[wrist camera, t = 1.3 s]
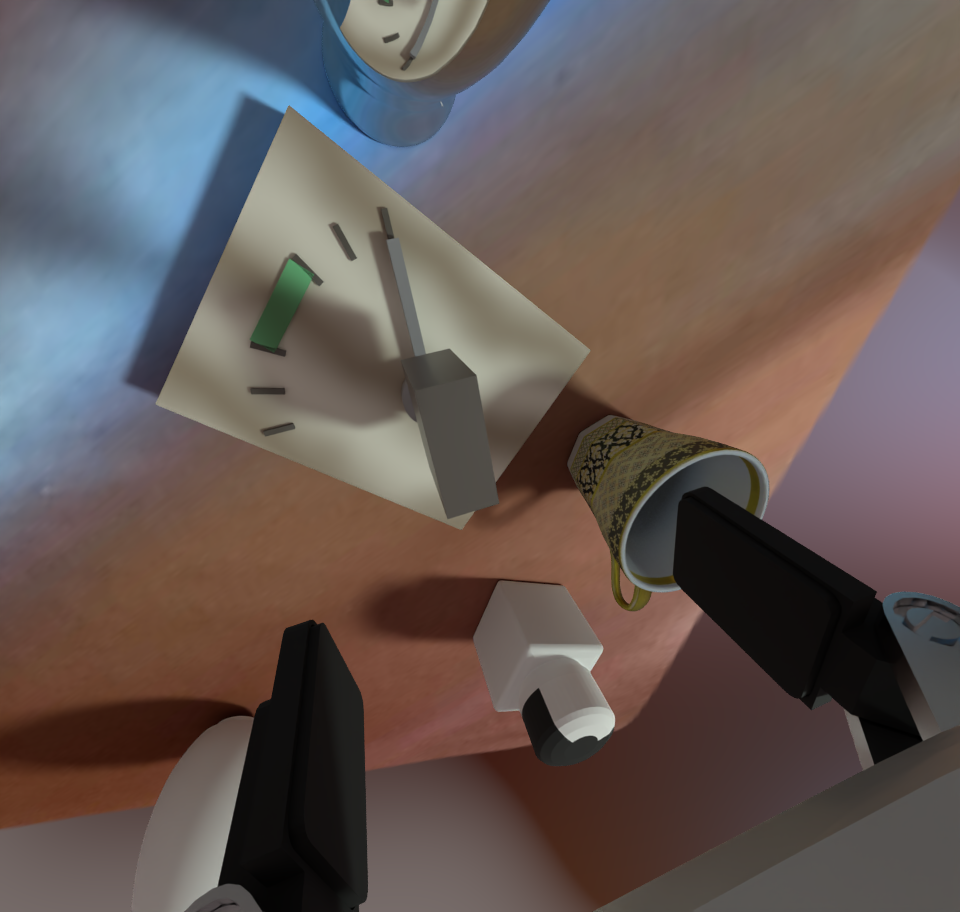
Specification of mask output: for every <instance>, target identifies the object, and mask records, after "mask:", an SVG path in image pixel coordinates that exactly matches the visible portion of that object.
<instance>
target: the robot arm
mask: <svg viewBox="0 0 960 912" xmlns="http://www.w3.org/2000/svg"><path fill="white" fill-rule="evenodd" d="M673 577H674V580H675V582H676V583H677V585H678V586H679V587H680V588H681V589H682V590H683V591H684V592H685V593H686V594H687V595H688V596H689V597H690V598H691V599H692V600H693V601H694V602H695V603H696V604H697V605H698V606H699V607H700V608H701V609H702V610H703V611H704V612H705V613H707V615H708V616H709V617H711V618H712V620H713V621H714V622H716V623H717V624H718V625H719V626H720V627H721V628H722V629H723V630H724V631H725V632H726V633H727V634H728V635H729V636H730V637H731V638H732V639H733V640H734V641H735V642H736V643H737V644H738V645H739V646H740V647H741V648H742V649H743V650H744V651H745V652H746V653H747V654H748V655H749V656H750V657H751V658H752V659H753V660H754V661H755V662H756V663H757V664H758V665H759V666H760V667H761V668H762V669H763V670H764V671H765V672H766V673H767V674H768V675H769V676H770V677H771V678H772V679H773V680H774V681H775V682H777V684H778V685H779V686H781V687H782V689H784V690H785V691H786V692H787V693H788V694H789V695H791V696H792V697H794V698H799V699H800V700H801V701H802V702H804V704H805V705H807V706H808V707H809V708H810V709H811V710H813V709H815V708H817V707H819V706H821V705H823V704H825V703H828V702H830V701H831V699H832V698H833V699H834V700H835V701H837V702H838V703H839V704H840V705H841V706H842V707H843V708H844V710H845V714H846V717H847V721H848V724H849V727H850V730H851V733H852V736H853V740H854V743H855V746H856V750H857V753H858V756H859V759H860V763H861V766H862V769H863V771H862V772H860V773H858V774H856V775H854V776H852V777H850V778H848V779H846V780H844V781H842V782H840V783H838V784H837V785H835V786H833V787H831V788H829V789H827V790H825V791H823V792H821V793H819V794H817V795H815V796H813V797H811V798H809V799H807V800H805V801H803V802H802V803H800V804H798V805H796V806H794V807H792V808H790V809H788V810H786V811H784V812H782V813H781V814H778V815H776V816H775V817H773V818H771V819H769V820H767V821H765V822H763V823H761V824H759V825H757V826H755V827H753V828H751V829H750V830H748V831H746V832H744V833H742V834H740V835H738V836H736V837H734V838H732V839H730V840H729V841H727V842H725V843H723V844H721V845H719V846H717V847H715V848H713V849H711V850H709V851H707V852H706V853H704V854H702V855H700V856H698V857H696V858H694V859H692V860H690V861H688V862H686V863H685V864H683V865H681V866H679V867H677V868H675V869H673V870H671V871H669V872H667V873H665V874H664V875H662V876H660V877H658V878H656V879H654V880H652V881H650V882H648V883H646V884H645V885H643V886H641V887H639V888H637V889H635V890H633V891H631V892H629V893H627V894H626V895H624V896H622V897H620V898H618V899H616V900H614V901H613V902H611V903H609V904H607V905H605V906H603V907H601V908H599V909H597V910H596V911H594V912H960V607H958V606H956V605H954V604H952V603H950V602H948V601H945V600H943V599H940V598H937V597H934V596H930V595H926V594H921V593H916V592H898V593H892V594H891V595H889V596H887V597H886V598H885V600H884V602H883V603H882V602H880V601H879V600H877V599H876V598H874V597H875V595H876V593H877V592H876V591H875V590H873V589H872V588H870V587H868V586H867V585H865V584H864V583H862V582H860V581H859V580H857V579H856V578H854V577H853V576H851V575H849V574H848V573H846V572H844V571H843V570H841V569H840V568H838V567H836V566H835V565H833V564H831V563H830V562H829V561H827V560H825V559H824V558H822V557H821V556H819V555H817V554H816V553H814V552H813V551H811V550H809V549H808V548H806V547H804V546H803V545H801V544H800V543H798V542H796V541H795V540H793V539H792V538H790V537H788V536H787V535H785V534H784V533H782V532H780V531H779V530H777V529H776V528H774V527H772V526H771V525H769V524H768V523H766V522H764V521H763V520H761V519H760V518H758V517H756V516H755V515H753V514H752V513H750V512H748V511H747V510H745V509H744V508H742V507H740V506H739V505H737V504H736V503H734V502H732V501H731V500H729V499H728V498H726V497H724V496H723V495H721V494H720V493H718V492H716V491H715V490H713V489H712V488H709V487H705V486H704V487H701V488H698V489H695V490H692V491H689V492H686V493H684V494H683V495H682V499H681V500H680V501H679V503H678V512H677V524H676V537H675V550H674V562H673ZM367 893H368V870H367V829H366V789H365V749H364V709H363V700H362V696H361V692H360V690H359V688H358V686H357V684H356V682H355V681H354V679H353V677H352V675H351V673H350V671H349V669H348V667H347V665H346V663H345V661H344V660H343V658H342V656H341V654H340V652H339V650H338V648H337V646H336V644H335V642H334V640H333V639H332V637H331V635H330V633H329V631H328V629H327V627H326V625H325V624H324V623H320V624H318V625H317V624H316V622H315V621H314V620H309V621H306V622H303V623H300V624H297V625H294V626H291V627H288V628H286V629H285V631H284V634H283V638H282V644H281V649H280V654H279V660H278V665H277V670H276V676H275V681H274V686H273V692H272V697H271V699H270V700H267V701H265V702H263V703H261V704H260V705H259V707H258V708H257V710H256V713H255V717H254V720H253V725H252V729H251V734H250V739H249V743H248V748H247V753H246V757H245V762H244V766H243V771H242V776H241V780H240V785H239V789H238V794H237V799H236V803H235V808H234V812H233V817H232V822H231V826H230V831H229V835H228V840H227V845H226V849H225V854H224V858H223V863H222V868H221V872H220V877H219V882H218V886H217V887H216V888H213V889H211V890H210V891H208V892H207V893H205V894H204V895H202V896H201V897H199V898H198V899H197V900H195V901H194V902H193V903H192V904H191V905H190V906H189V907H188V908H187V909H186V910H185V911H184V912H359V904H361V903H364V902H365V901H366V899H367Z"/></svg>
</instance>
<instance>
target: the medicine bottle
mask: <svg viewBox="0 0 960 912" xmlns="http://www.w3.org/2000/svg"><path fill="white" fill-rule="evenodd" d="M473 641H474V644H475V648H476V651H477V654H478V657H479V661H480V664H481V667H482V670H483V674H484V677H485V680H486V683H487V687H488V690H489V693H490V696H491V700H492V703H493V706H494V709H495V710H496V711H499V712H500V711H517V710H520V712H521V715H522V718H523V721H524V723H525V726H526V729H527V732H528V735H529V737H530V740H531V743H532V746H533V748H534V751H535V754H536V756H537V758H538V759H539V760H541V761H542V762H544V763H546V764H547V765H551V766H567V765H573V764H576V763H579V762H581V761H584V760H586V759H587V758H589V757H591V756H592V755H594V754H595V753H596V752H598V751H599V750H600V749H601V748H602V747H603V746H604V744H605V743H606V742H607V741H608V739H609V738H610V737H611V735H612V733H613V730H614V725H615V716H614V714H613V712H612V710H611V708H610V706H609V705H608V703H607V701H606V699H605V698H604V696H603V694H602V692H601V691H600V689H599V687H598V685H597V683H596V682H595V680H594V678H593V676H592V675H591V673H590V671H591V670H592V668H593V666H594V665H595V663H596V661H597V660H598V658H599V656H600V655H601V653H602V651H603V646H602V644H601V643H600V641H599V640H598V638H597V636H596V635H595V633H594V632H593V630H592V628H591V627H590V625H589V624H588V622H587V621H586V619H585V617H584V616H583V614H582V613H581V611H580V610H579V608H578V606H577V605H576V603H575V602H574V600H573V599H572V597H571V595H570V594H569V592H568V591H567V589H566V587H565V586H563V585H551V584H539V583H527V582H515V581H503V580H501V581H498V583H497V585H496V587H495V589H494V591H493V594H492V596H491V598H490V600H489V603H488V605H487V607H486V609H485V611H484V614H483V616H482V618H481V620H480V623H479V625H478V627H477V629H476V632H475V634H474V636H473Z"/></svg>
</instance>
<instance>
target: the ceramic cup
mask: <svg viewBox="0 0 960 912" xmlns="http://www.w3.org/2000/svg"><path fill="white" fill-rule="evenodd" d="M567 466H568V468H569V470H570V473H571V475H572V477H573V479H574V481H575V483H576V486H577V487H578V489H579V491H580V493H581V494H582V496H583V497H584V499H585V500H586V502H587V504H588V505H589V507H590V509H591V511H592V512H593V514H594V516H595V518H596V520H597V522H598V525H599V527H600V530H601V532H602V535H603V537H604V539H605V541H606V543H607V545H608V546H609V548H610V554H611V566H612V569H611V580H612V591H613V595H614V597H615V600H616V602H617V603H618V604H619V605H620V606H621V607H622V608H624V609H625V610H628V611H638V610H640V609H642V608H643V607H644V606H645V605H646V604H647V603H648V601H649V599H650V597H651V593H652V592H671V591H676V590H680V589H681V588H680V587H679V586H678V585H677V583H676V582H675V580H674V577H673V562H674V550H675V537H676V524H677V512H678V503H679V501H680V500H681V499H682V495H683V494H684V493H686V492H689V491H692V490H695V489H698V488H701V487H704V486H705V487H709V488H712V489H713V490H715V491H716V492H718V493H720V494H721V495H723V496H724V497H726V498H728V499H729V500H731V501H732V502H734V503H736V504H737V505H739V506H740V507H742V508H744V509H745V510H747V511H748V512H750V513H752V514H753V515H755V516H756V517H758V518H760V519H761V520H762V518H763V515H764V512H765V510H766V507H767V502H768V498H769V480H768V475H767V472H766V470H765V468H764V466H763V465H762V463H761V462H760V461H759V460H758V459H757V458H756V457H755V456H753V455H752V454H750V453H748V452H746V451H743V450H740V449H737V448H734V447H731V446H728V445H725V444H722V443H718V442H715V441H711V440H707V439H704V438H700V437H696V436H690V435H685V434H678V433H673V432H669V431H666V430H663V429H660V428H656V427H654V426H651V425H648V424H645V423H641V422H638V421H634V420H630V419H626V418H622V417H618V416H613V415H608V416H606V417H604V418H603V419H601V420H599V421H598V422H596V423H595V424H593V425H591V426H590V427H588V428H586V429H585V430H583V431H582V432H580V433H579V435H578V438H577V440H576V443H575V445H574V447H573V450H572V452H571V455H570V457H569V460H568V463H567ZM620 568H621V569H622V571H623V572H624V574H625V576H626V577H627V578H628V579H629V580H630V581H631V582H632V583H633V584H634V585H635V589H634V595H633V599H632V601H631V603H630V604H628V603H627V602H626V601H625V600H624V599H623V597H622V594H621V589H620Z"/></svg>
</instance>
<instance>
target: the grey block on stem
mask: <svg viewBox="0 0 960 912" xmlns="http://www.w3.org/2000/svg"><path fill="white" fill-rule="evenodd" d="M386 243H387V248H388V252H389V256H390V260H391V264H392V268H393V272H394V276H395V280H396V284H397V288H398V292H399V296H400V300H401V304H402V308H403V312H404V316H405V320H406V324H407V328H408V332H409V336H410V340H411V344H412V348H413V352H414V356H415V357H411V358H407V359H403V360H401V363H402V367H403V370H404V374H405V380H404V382H403V385H402V388H401V398H402V401H403V405H404V408H405V410H406V412H407V414H408V415H409V417H410V418H411V419H412V420H414V421H415V422H417V423H418V427H419V430H420V434H421V438H422V442H423V446H424V449H425V453H426V457H427V461H428V464H429V468H430V471H431V474H432V476H433V479H434V482H435V485H436V488H437V491H438V494H439V496H440V499H441V502H442V505H443V508H444V511H445V513H446V516H447V519H450V518H454V517H457V516H460V515H463V514H467V513H470V512H473V511H476V510H480V509H483V508H486V507H489V506H493V505H496V504H499V500H498V494H497V489H496V483H495V477H494V472H493V466H492V460H491V454H490V449H489V443H488V437H487V432H486V426H485V420H484V415H483V409H482V403H481V398H480V392H479V386H478V380H477V375H476V374H475V373H474V372H473V371H472V370H471V369H470V368H469V367H468V366H467V365H466V364H465V363H464V362H463V361H462V360H461V359H460V358H459V357H458V356H457V355H456V354H455V353H454V352H453V351H452V350H451V349H450V348H449V349H445V350H441V351H437V352H432V353H428V354H426V352H425V348H424V343H423V339H422V335H421V330H420V326H419V322H418V318H417V313H416V309H415V305H414V300H413V296H412V292H411V288H410V283H409V279H408V275H407V270H406V266H405V262H404V258H403V253H402V249H401V245H400V240H399V238H394V239H389V240H386Z"/></svg>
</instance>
